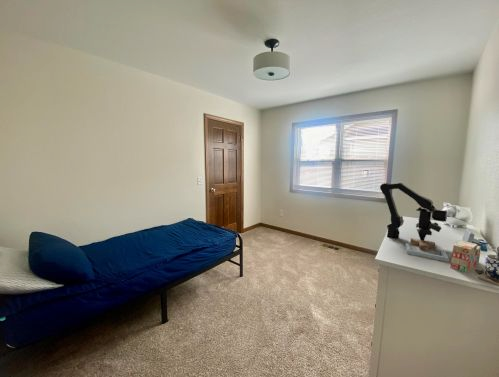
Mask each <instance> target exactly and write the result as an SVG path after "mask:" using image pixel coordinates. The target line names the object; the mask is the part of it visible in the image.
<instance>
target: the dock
mask: <svg viewBox="0 0 499 377" xmlns="http://www.w3.org/2000/svg"><path fill="white" fill-rule="evenodd" d="M405 251H406V254H409V255H413V256H418V257H422V258H426V259H427V258H428V259H432V260H437V261H441V262H447V263H448V262H450V261H449V260H450V258H449V257H448V255H447V253H446V252H445V250H444V249H440V250H439V254H440V255H439V254H434V253H428V252H424V251H423V252H422V251H418V250H411V248H410V243H407V242H406V243H405Z"/></svg>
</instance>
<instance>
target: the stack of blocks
mask: <svg viewBox="0 0 499 377" xmlns="http://www.w3.org/2000/svg"><path fill="white" fill-rule="evenodd" d="M452 247H453V248H452V254H451V262H450V268H451V269H453V270H456V271H460V272H463V273H466V274H467V273H469V272H471V270H473V269H474V268H475V266H477V265H478V264H479V263H480V258H481V248H482V246H480V245H478V244H477V243H474V242H470V241H469V242H468V241H463V240H459V241H458V242H456V243H455V244H453V246H452Z"/></svg>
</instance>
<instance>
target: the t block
mask: <svg viewBox="0 0 499 377" xmlns="http://www.w3.org/2000/svg"><path fill="white" fill-rule="evenodd" d="M409 244H410V245H414V246H416V247H417V246H418V248H419V251H423V252H424V251H425V252H429V249H436V242H435V241H429V240H425V239H424V240H420V238H419V239H417V238H412V237H411V238H410V243H409Z"/></svg>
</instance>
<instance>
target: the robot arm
mask: <svg viewBox="0 0 499 377" xmlns="http://www.w3.org/2000/svg"><path fill="white" fill-rule="evenodd" d="M379 188H380V189H379V190H380V192H381V193H382V194H383V195H384V198H385V200H386V204H387V206H388V207H387V208H388V209H389V213H390V223H389V224H388V225H386V226H387V233H386V237H387V238H393V239H399V238H400V230H399V229H400V227H403V225H404V222H405V220H404V217H403V215H400V214H399V212H398V209H397V205H396V202H395V200H394V197H393V190H397V189H398V190H400V191H401V192H402V193H404V194H405V195H407V196H408V197H410V198H411V199H413V200H414V201H415V202H416V204H417V205H419V206H420V207H419V208H417V209H415V210H416V211H418V212H419V215H418V218H417V219H418V223H416V224H415V227H416V228H417V229H416V231H417V234H418V236H419V240H424V241H425V238H426V236H432V235H433V232H432V231H431V230H433V231H435V232H437V233H440V231H441V230H442V226H440V225H439V223H437V222H432V220H431V219H433V220H434V221H438V222H444V223H446V222H447V219H448V212H447V211H448V210H443V209H441V210H440V209H437V208H436V206H434V202H433V201H432V200H431V199H430V198H427V197H425V196H422V195H420V194H419V193H417V192H415V191H414V190H412V189H411V188H409V187H408V186H407V185H405V184H404V183H403V182H398V183H389V182H386V183H385V182H384V183H381V185H380V186H379Z"/></svg>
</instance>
